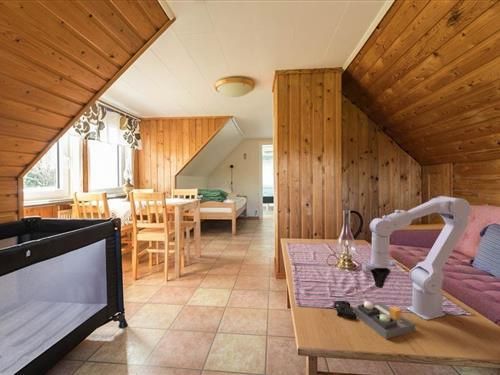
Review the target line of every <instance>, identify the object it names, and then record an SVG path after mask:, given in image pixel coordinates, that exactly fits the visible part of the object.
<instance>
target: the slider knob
mask: <svg viewBox="0 0 500 375" xmlns="http://www.w3.org/2000/svg"><path fill="white" fill-rule="evenodd" d="M389 308H390V313H389V316H390V317H392V318H393V319H395V320H397V319H401V316H402V309H400V308H399V307H397V306H390V307H389Z"/></svg>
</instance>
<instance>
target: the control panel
mask: <svg viewBox="0 0 500 375" xmlns="http://www.w3.org/2000/svg"><path fill="white" fill-rule="evenodd" d="M354 313H355V314H356V316H357V318H358V319H360V321H362V322H364V323H365V324H366V325H367V326H368V327H370V328H371V329H372V330H374V332H376V333H377V334H379V335H380V336H381V337H383V339H385V340H388V339H392V338H395V337H399V336H403V335H407V334H411V333H414V332H415V333H416V324H415V322H412V321H411V320H409V319H408V318H406V317H404V316H403V315H401V319H397V320H395V319H393V318H392V317H390V316H389V313H390V307H388V306H387V305H386V304H384V303H383V302H377V303H373V310H371V311H370V310H366V309H365V308H364V303H362V304H357V307H354ZM381 314H385V315H388V316H389V317H390V322H388V323H384V322H382V321H381V320H380V315H381Z"/></svg>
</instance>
